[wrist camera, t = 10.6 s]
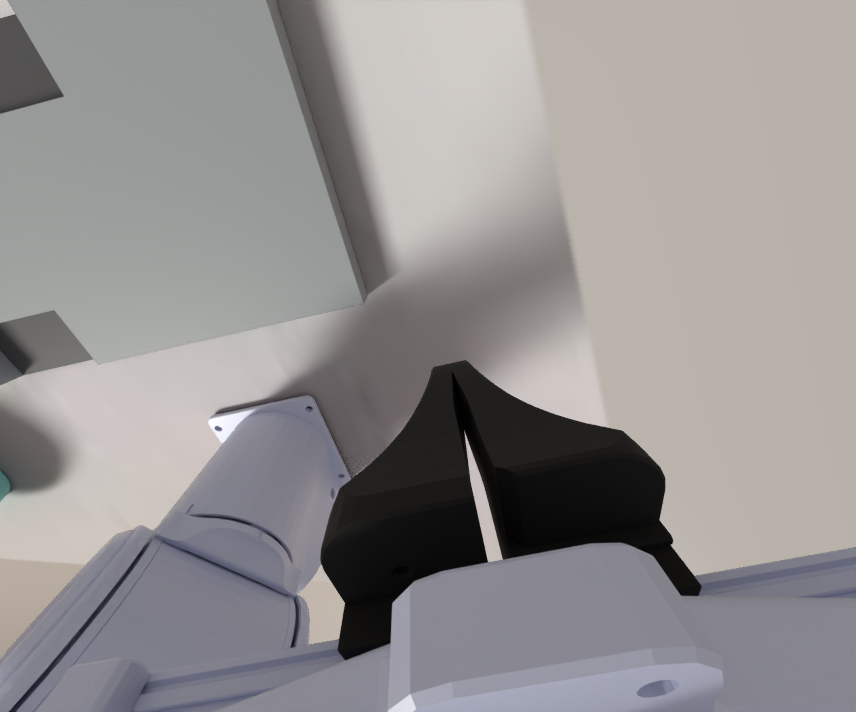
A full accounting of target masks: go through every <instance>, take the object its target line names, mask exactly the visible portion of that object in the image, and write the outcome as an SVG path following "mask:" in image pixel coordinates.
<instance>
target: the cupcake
mask: <svg viewBox="0 0 856 712" xmlns="http://www.w3.org/2000/svg"><path fill="white" fill-rule="evenodd" d="M9 491H10V482H9V480H8V478H7V477H6V476H5V474H4V473H3V472H1V471H0V501H1V500H2V499H3V498H4V497H5V496H6V495H7V494H8V492H9Z"/></svg>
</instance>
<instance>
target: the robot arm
mask: <svg viewBox="0 0 856 712" xmlns="http://www.w3.org/2000/svg"><path fill="white" fill-rule="evenodd" d="M307 406H310V407H312V408H313V409H309V408H308V407H307ZM208 424H209V425H210V427H211V428H212V430H213V431H214V433H215V434H216V436H217V437H218V439H219V440H220V442H221V443H222V445H221V446H220V448H219V449H218V450H217V451H216V453H215V454H214V455H213V457H212V458H211V459H210V460H209V462H208V463H207V464H206V465H205V467H204V468H203V469H202V471H201V472H200V473H199V474H198V476H197V477H196V478H195V479H194V481H193V482H192V483H191V485H190V486H189V487H188V488H187V490H186V491H185V492H184V493H183V495H182V496H181V497H180V499H179V500H178V501H177V502H176V504H175V505H174V506H173V507H172V509H171V510H170V511H169V513H168V514H167V515H166V516H165V518H164V519H163V520H162V521H161V523H160V524H159V525H158V526H157V527H156V528H155V529H154V530H153V531H152V530H151V529H149V528H147V527H145V526H142V525H140V526H137V527H136V528H134V529H133V530H128V531H125V532H122V533H119V534H116V535H115V536H114V537H113V538H112V539H111V540H109V541H108V542H107V543H106V544H105V545H104V546H103V547H102V548H101V549H100V551H99V552H98V553H97V554H96V555H95V556H94V557H93V558H92V559H91V560H90V561H89V562H88V563H87V564H86V565H85V566H84V567H83V568H82V570H80V571H79V573H78V574H77V575H76V576H75V577H74V578H73V579H72V580H71V581H70V582H69V583H68V584H67V585H66V586H65V587H64V589H63V590H62V591H61V592H60V593H59V594H58V595H57V596H56V597H55V598H54V599H53V600H52V601H51V603H50V604H49V605H48V606H47V607H46V608H45V609H44V610H43V611H42V613H40V615H39V616H38V617H37V618H36V619H35V620H34V621H33V622H32V623H31V624H30V626H29V627H28V628H27V629H26V630H25V631H24V632H23V633H22V634H21V635H20V637H19V638H18V639H17V640H16V641H15V642H14V643H13V644H12V645H11V647H10V648H9V649H8V650H7V651H6V652H5V653H4V654H3V656H2V657H1V658H0V712H856V547H854V548H848V549H843V550H837V551H831V552H826V553H821V554H815V555H809V556H803V557H798V558H792V559H786V560H781V561H775V562H770V563H764V564H758V565H753V566H747V567H742V568H736V569H730V570H725V571H719V572H713V573H708V574H702V575H697V576H694V575H693V574H692V572H691V571H690V570H689V569H688V567H687V566H686V565H685V563H684V562H683V561H682V560H681V558H680V557H679V556H678V554H677V553H676V552H675V550H674V549H673V548H672V547H671V544H672V543H673V539H672V536H671V534H670V533H669V532H668V531H667V529H666V528H665V527H664V526H663V524H662V523H661V522H660V521H659V519H660V514H661V509H662V504H663V498H664V493H665V476H664V474H663V472H662V470H661V468H660V467H659V466H658V465H657V464H656V463H655V461H654V460H652V458H651V457H650V456H649V455H648V454H647V453H646V452H645V451H644V450H643V449H642V448H641V447H640V446H639V445H638V444H637V443H636V442H635V441H633V440H632V439H631V438H630V437H629V436H628V435H627V434H625V433H624V432H623V431H621V430H616V429H611V428H607V427H602V426H597V425H592V424H587V423H583V422H579V421H576V420H572V419H568V418H565V417H562V416H559V415H555V414H552V413H550V412H547V411H545V410H542V409H539V408H537V407H534V406H532V405H530V404H527V403H525V402H523V401H521V400H519V399H517V398H515V397H513V396H512V395H510V394H508V393H507V392H505V391H504V390H502V389H501V388H499V387H498V386H496V385H495V384H493V383H492V382H491V381H489V380H488V379H487V378H486V377H484V376H483V375H482V374H481V373H480V372H478V371H477V370H476V369H475V368H474V367H473V366H472V365H471V364H470V363H469V362H467V361H466V360H465V361H460V362H455V363H451V364H446V365H442V366H437V367H434V368H433V369H432V372H431V376H430V379H429V382H428V385H427V387H426V390H425V392H424V394H423V397H422V399H421V401H420V402H419V404H418V406H417V408H416V410H415V412H414V413H413V415H412V417H411V418H410V420H409V421H408V423H407V424H406V426H405V427H404V429H403V430H402V431H401V433H400V434H399V435H398V436H397V437H396V438H395V440H394V441H393V442H392V443H391V444H390V445H389V446H388V448H387V449H386V450H385V451H384V452H383V453H382V454H381V455H380V456H378V457H377V458H376V459H375V460H374V461H373V462H372V463H371V464H370V465H369V466H367V467H366V468H365V469H364V470H363V471H361V472H360V473H359V474H357V475H356V476H355V477H354V478H352V479H351V477H350V475H349V473H348V471H347V469H346V466H345V464H344V462H343V460H342V458H341V456H340V454H339V451H338V449H337V447H336V445H335V443H334V441H333V438H332V436H331V434H330V432H329V430H328V428H327V425H326V423H325V421H324V419H323V417H322V415H321V413H320V410H319V408H318V406H317V404H316V402H315V400H314V398H313V397H311V396H309V395H305V396H300V397H295V398H291V399H286V400H281V401H277V402H272V403H268V404H263V405H258V406H254V407H249V408H245V409H240V410H235V411H231V412H226V413H221V414H217V415H213V416H211V417H210V418H209V420H208ZM219 426H220V427H221V428H220V427H219ZM464 431H465V433H466V436H467V439H468V442H469V445H470V447H471V450H472V453H473V456H474V458H475V461H476V464H477V467H478V470H479V472H480V475H481V478H482V481H483V484H484V487H485V491H486V495H487V499H488V502H489V506H490V510H491V514H492V518H493V522H494V526H495V530H496V534H497V538H498V542H499V546H500V550H501V554H502V558H503V560H499V561H494V562H488V560H487V556H486V551H485V546H484V542H483V537H482V533H481V528H480V523H479V519H478V514H477V510H476V505H475V500H474V496H473V491H472V487H471V482H470V474H469V466H468V458H467V450H466V442H465V433H464ZM341 474H343V475H341ZM321 564H322V566H323V569H324V571H325V573H326V574H327V576H328V577H329V579H330V581H331V582H332V584H333V585H334V587H335V588H336V590H337V591H338V593H339V594H340V596H341V597H342V599H343V600H344V602H345V607H344V613H343V619H342V626H341V631H340V638H339V639H338V640H333V641H327V642H321V643H315V644H310V645H309V623H310V618H309V609H308V605H307V603H306V601H305V599H304V598H302V597H301V596H299V595H297V594H298V593H299V592H300V591H301V590H302V589H303V588H304V587H305V586H306V585H307V584H308V583H309V582H310V580H311V579H312V578H313V576H314V575H315V573H316V572H317V570H318V568H319V567H320V565H321Z"/></svg>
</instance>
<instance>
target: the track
mask: <svg viewBox="0 0 856 712" xmlns="http://www.w3.org/2000/svg"><path fill="white" fill-rule="evenodd" d="M8 2H9V4H10V6H11V7H12V9H13V11H14V12H15V15H11V16H8V17H4V18H1V19H0V385H2V384H4V383H7V382H9V381H11V380H13V379H16V378H18V377H20V376H23V375H26V374H31V373H35V372H39V371H44V370H48V369H52V368H57V367H61V366H65V365H70V364H74V363H78V362H83V361H87V360H92V359H94V360H95V362H96V363H97V364H98V365H99V364H103V363H108V362H112V361H116V360H121V359H125V358H130V357H134V356H138V355H143V354H147V353H151V352H156V351H160V350H165V349H169V348H173V347H178V346H182V345H186V344H191V343H195V342H200V341H204V340H208V339H213V338H217V337H221V336H226V335H230V334H235V333H239V332H243V331H248V330H252V329H256V328H261V327H265V326H270V325H274V324H278V323H283V322H287V321H291V320H296V319H300V318H305V317H309V316H313V315H318V314H322V313H326V312H331V311H335V310H340V309H344V308H348V307H353V306H357V305H361V304H364V302H365V300H366V298H367V295H368V294H367V291H366V288H365V285H364V281H363V278H362V275H361V272H360V268H359V265H358V262H357V259H356V256H355V252H354V249H353V246H352V243H351V239H350V236H349V233H348V230H347V227H346V223H345V220H344V217H343V214H342V210H341V207H340V204H339V201H338V198H337V194H336V191H335V188H334V185H333V181H332V178H331V175H330V172H329V169H328V165H327V162H326V159H325V156H324V152H323V149H322V146H321V143H320V140H319V136H318V133H317V130H316V127H315V123H314V120H313V117H312V114H311V111H310V107H309V104H308V101H307V98H306V94H305V91H304V88H303V85H302V82H301V78H300V75H299V72H298V69H297V65H296V62H295V59H294V56H293V53H292V49H291V46H290V43H289V40H288V36H287V33H286V30H285V27H284V24H283V20H282V17H281V14H280V11H279V7H278V4H277V1H276V0H8Z"/></svg>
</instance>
